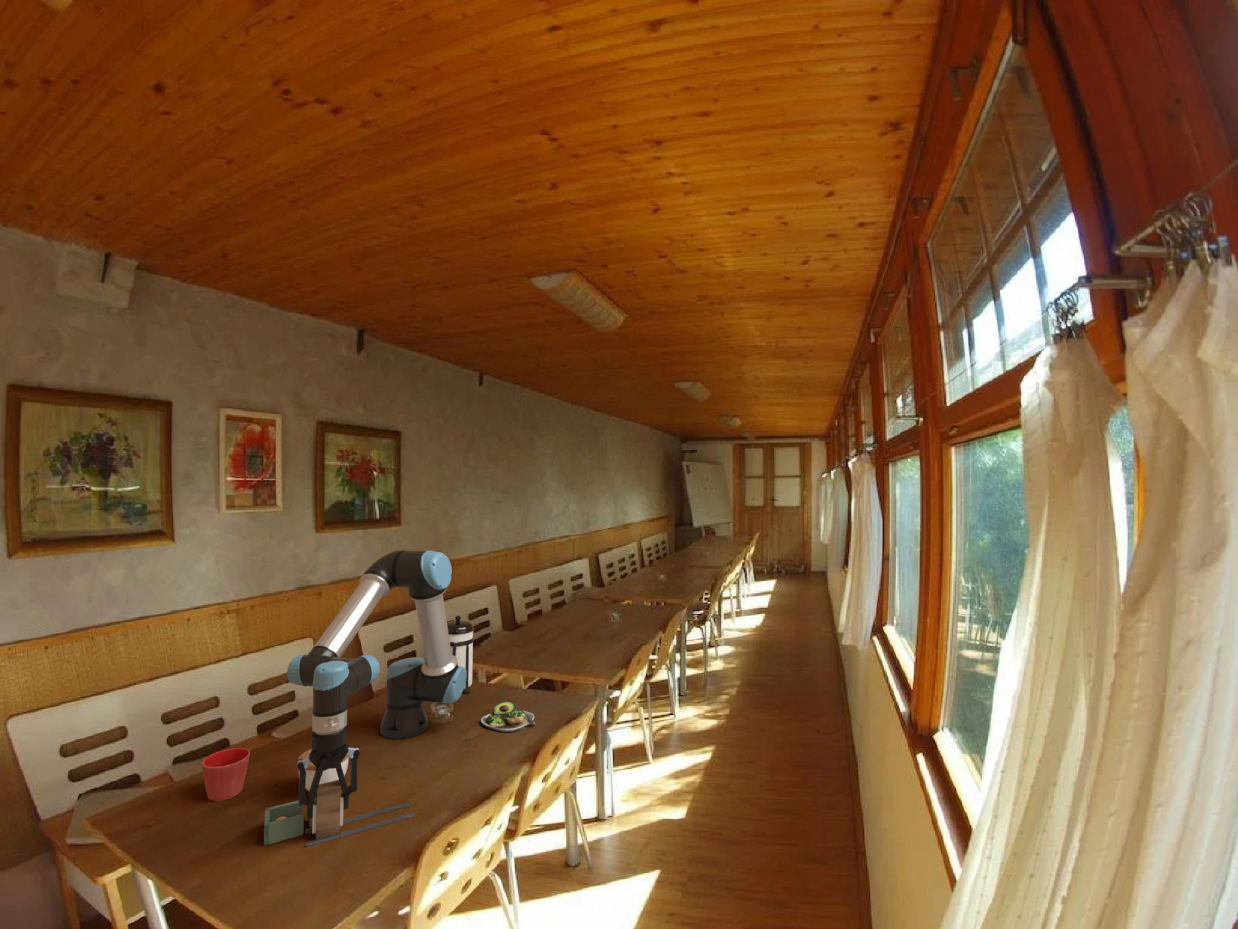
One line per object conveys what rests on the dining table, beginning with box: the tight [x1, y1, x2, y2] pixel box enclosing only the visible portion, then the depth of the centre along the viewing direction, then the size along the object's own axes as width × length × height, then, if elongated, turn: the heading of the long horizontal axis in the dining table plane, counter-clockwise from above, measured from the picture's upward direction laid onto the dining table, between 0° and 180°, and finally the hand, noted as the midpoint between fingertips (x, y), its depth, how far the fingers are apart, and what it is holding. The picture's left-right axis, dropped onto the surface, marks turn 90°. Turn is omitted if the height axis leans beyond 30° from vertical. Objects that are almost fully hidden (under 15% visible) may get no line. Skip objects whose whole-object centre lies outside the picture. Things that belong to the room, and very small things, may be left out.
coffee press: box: [447, 615, 475, 695], centre depth 228 cm, size 17×16×30 cm
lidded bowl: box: [297, 748, 350, 792], centre depth 156 cm, size 13×13×11 cm
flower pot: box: [201, 747, 251, 802], centre depth 153 cm, size 11×11×10 cm
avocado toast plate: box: [480, 701, 536, 733], centre depth 199 cm, size 19×18×5 cm
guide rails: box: [305, 800, 415, 848], centre depth 140 cm, size 6×24×1 cm, turn 121°
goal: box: [263, 799, 305, 847], centre depth 137 cm, size 8×8×4 cm
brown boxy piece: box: [308, 780, 342, 840], centre depth 138 cm, size 10×6×11 cm, turn 31°
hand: (327, 826), depth 136 cm, fingers closed on brown boxy piece, 5 cm apart
